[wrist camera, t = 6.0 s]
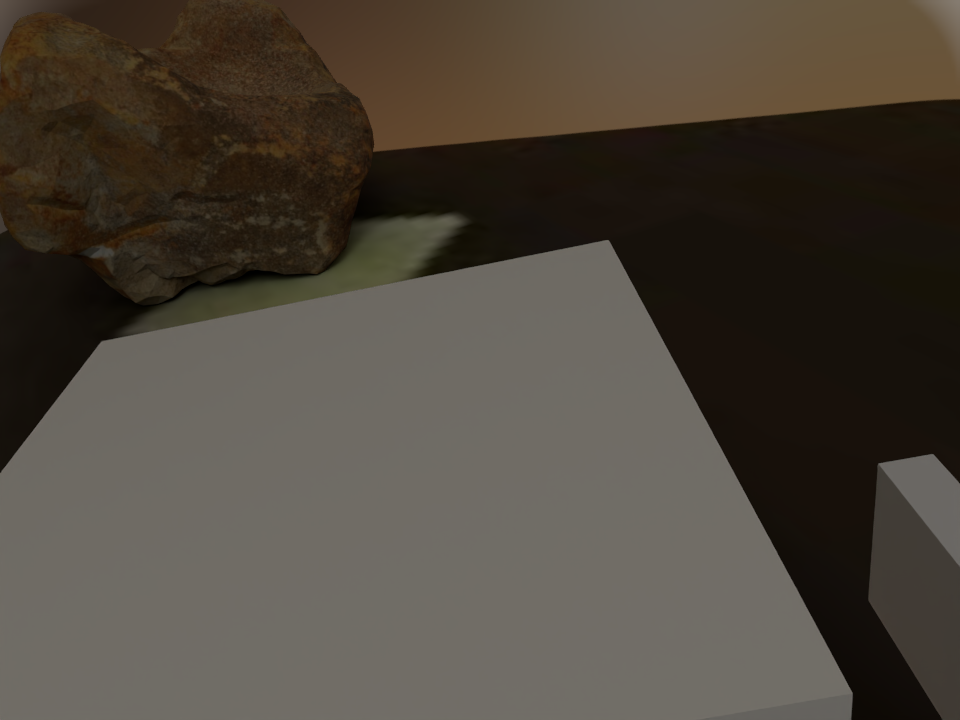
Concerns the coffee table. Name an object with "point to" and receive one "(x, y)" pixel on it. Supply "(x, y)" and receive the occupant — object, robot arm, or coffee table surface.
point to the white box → (398, 521)
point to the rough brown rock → (179, 149)
